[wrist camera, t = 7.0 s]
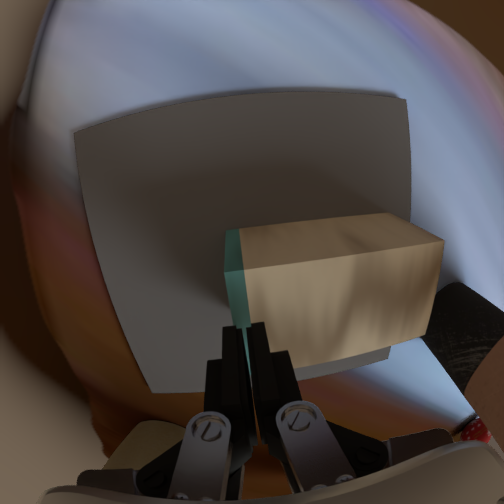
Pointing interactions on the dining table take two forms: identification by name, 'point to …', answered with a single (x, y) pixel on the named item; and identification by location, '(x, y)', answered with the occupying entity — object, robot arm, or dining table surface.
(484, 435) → the christmas ornament
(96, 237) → the rubber mat
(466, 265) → the dining table surface
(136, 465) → the plant pot
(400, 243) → the maple block
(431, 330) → the travel mug
